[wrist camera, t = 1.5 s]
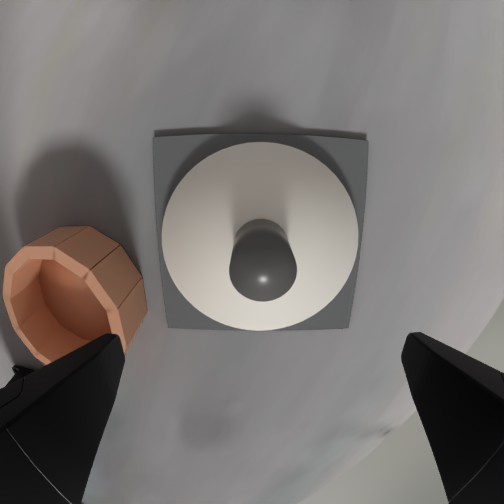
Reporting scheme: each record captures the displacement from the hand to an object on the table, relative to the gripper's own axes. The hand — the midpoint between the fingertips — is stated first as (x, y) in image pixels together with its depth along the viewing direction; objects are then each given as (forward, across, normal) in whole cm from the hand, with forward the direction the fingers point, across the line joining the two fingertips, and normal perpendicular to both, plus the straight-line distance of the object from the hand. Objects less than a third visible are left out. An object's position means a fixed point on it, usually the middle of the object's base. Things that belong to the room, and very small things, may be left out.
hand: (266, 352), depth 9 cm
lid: (+11, 0, 0) cm, 11 cm away
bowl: (+11, +13, +4) cm, 18 cm away
